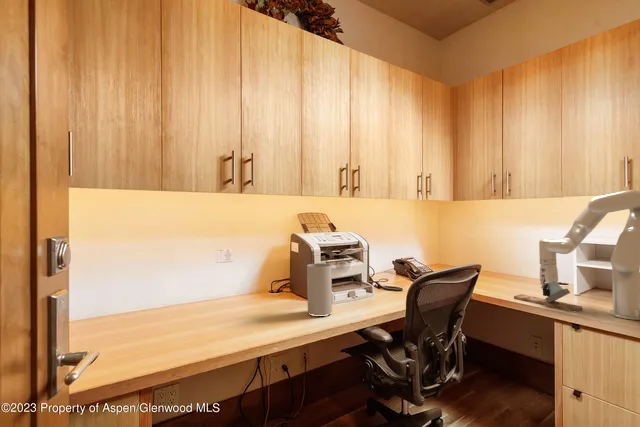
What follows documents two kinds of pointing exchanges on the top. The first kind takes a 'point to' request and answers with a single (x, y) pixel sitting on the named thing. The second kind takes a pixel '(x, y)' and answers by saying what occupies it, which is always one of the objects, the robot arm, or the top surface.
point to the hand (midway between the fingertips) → (548, 295)
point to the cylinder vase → (319, 288)
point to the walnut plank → (551, 304)
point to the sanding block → (556, 292)
